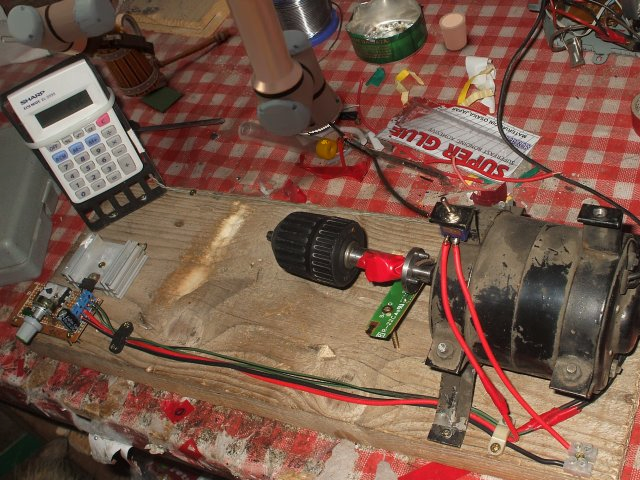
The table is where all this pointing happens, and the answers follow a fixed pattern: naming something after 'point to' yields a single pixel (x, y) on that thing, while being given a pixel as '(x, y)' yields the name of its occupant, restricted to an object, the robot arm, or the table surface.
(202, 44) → the hammer
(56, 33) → the robot arm
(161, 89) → the mat
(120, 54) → the mug
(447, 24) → the pink cylinder
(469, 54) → the table surface
